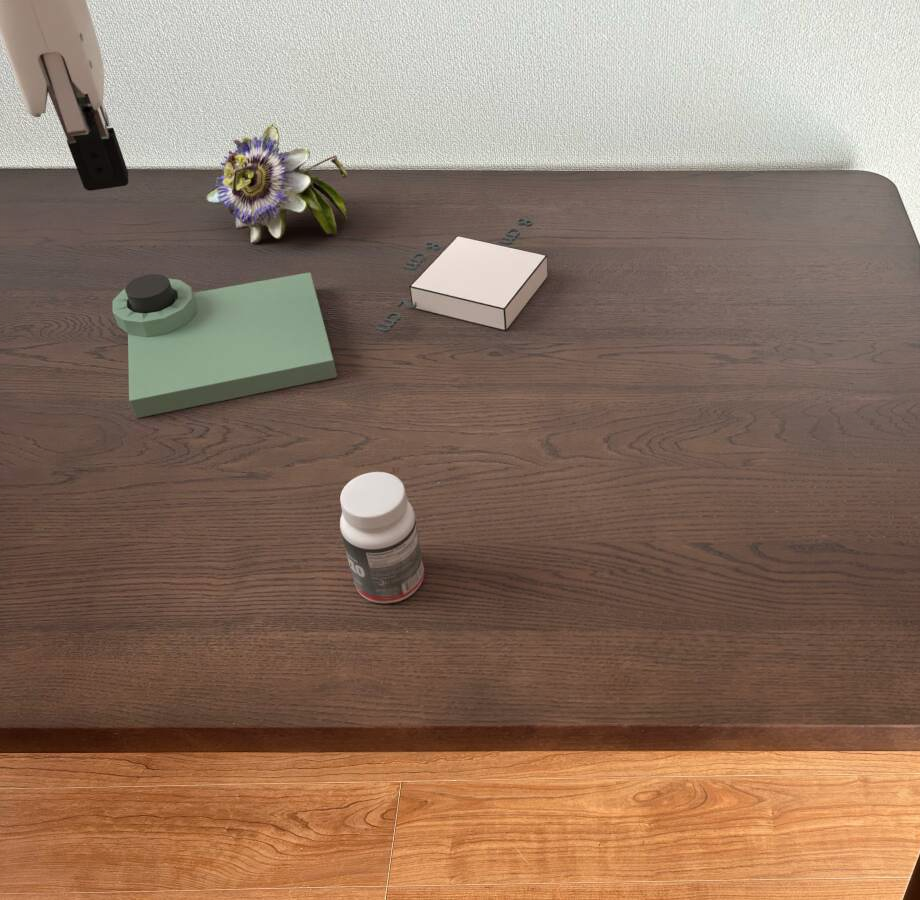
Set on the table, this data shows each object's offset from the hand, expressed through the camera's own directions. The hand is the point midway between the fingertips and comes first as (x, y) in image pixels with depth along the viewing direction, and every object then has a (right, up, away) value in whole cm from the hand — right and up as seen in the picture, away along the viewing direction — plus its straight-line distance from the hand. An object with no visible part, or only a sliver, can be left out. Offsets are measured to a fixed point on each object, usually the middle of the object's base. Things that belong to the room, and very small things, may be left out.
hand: (107, 183), depth 75 cm
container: (+26, -6, +16) cm, 31 cm away
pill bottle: (+24, -30, -9) cm, 39 cm away
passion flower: (+6, +2, +25) cm, 26 cm away
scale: (+6, -12, +9) cm, 16 cm away
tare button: (0, -8, +9) cm, 12 cm away
